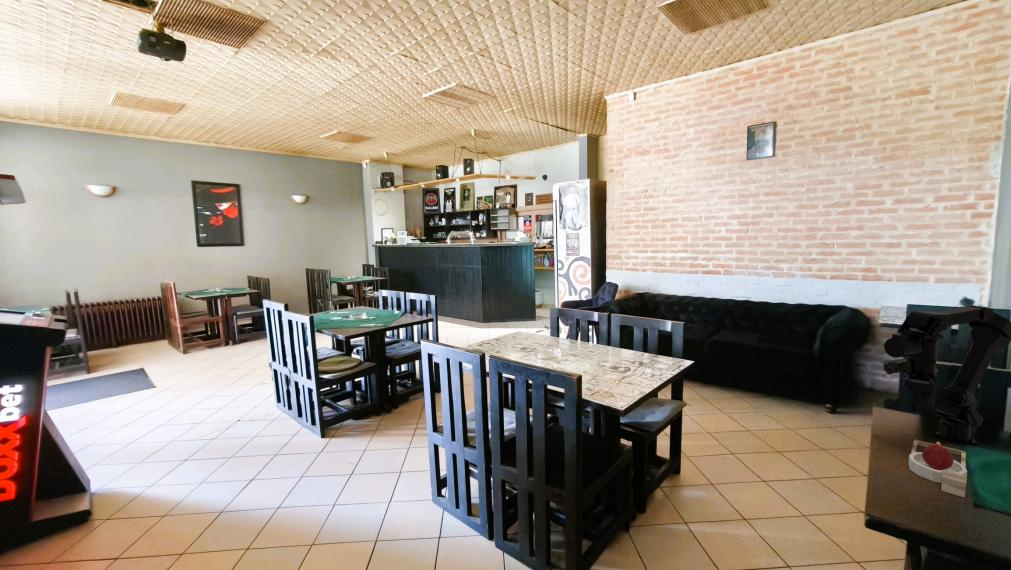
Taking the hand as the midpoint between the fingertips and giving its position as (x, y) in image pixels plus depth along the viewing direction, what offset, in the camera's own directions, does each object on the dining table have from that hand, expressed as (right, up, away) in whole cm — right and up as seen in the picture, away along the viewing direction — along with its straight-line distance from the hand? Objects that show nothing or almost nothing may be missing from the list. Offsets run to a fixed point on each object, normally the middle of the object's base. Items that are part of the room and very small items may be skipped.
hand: (919, 404), depth 125 cm
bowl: (-8, -15, -12) cm, 21 cm away
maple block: (-11, -16, -19) cm, 28 cm away
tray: (+1, -14, -5) cm, 14 cm away
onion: (-8, -15, -12) cm, 20 cm away
